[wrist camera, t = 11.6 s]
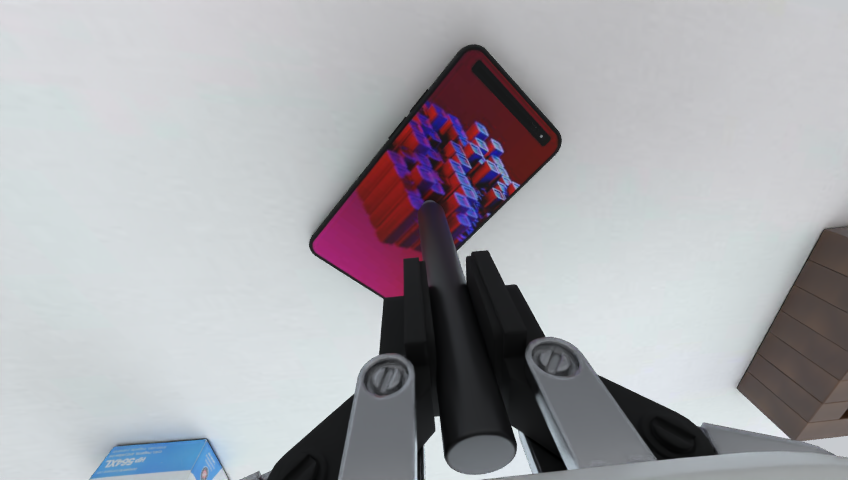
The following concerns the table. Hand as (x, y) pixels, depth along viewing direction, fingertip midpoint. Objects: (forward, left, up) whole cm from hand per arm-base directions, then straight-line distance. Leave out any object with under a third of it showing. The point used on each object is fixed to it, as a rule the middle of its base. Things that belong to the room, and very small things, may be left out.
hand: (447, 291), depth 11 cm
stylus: (0, 0, -9) cm, 9 cm away
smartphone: (0, 0, -10) cm, 10 cm away
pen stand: (+14, +31, -10) cm, 36 cm away
